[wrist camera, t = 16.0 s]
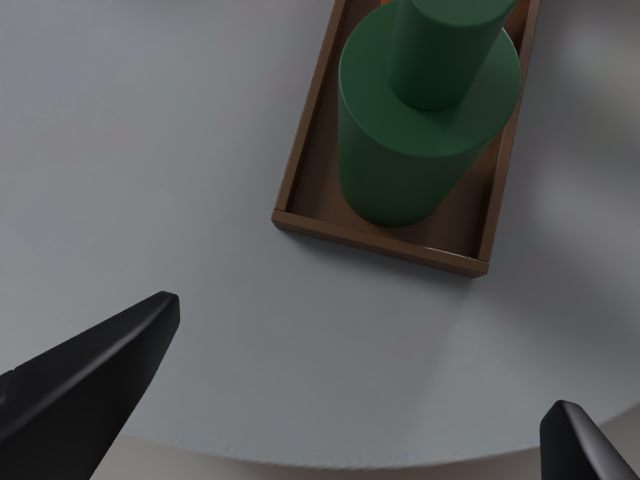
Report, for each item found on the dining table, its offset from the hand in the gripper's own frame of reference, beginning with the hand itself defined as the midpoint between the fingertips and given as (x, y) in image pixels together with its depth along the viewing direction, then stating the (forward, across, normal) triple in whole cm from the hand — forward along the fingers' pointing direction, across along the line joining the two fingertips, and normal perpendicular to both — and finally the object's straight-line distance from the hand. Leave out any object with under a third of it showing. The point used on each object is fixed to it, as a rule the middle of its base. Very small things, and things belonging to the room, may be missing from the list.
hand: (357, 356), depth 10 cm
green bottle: (+15, 0, +2) cm, 16 cm away
